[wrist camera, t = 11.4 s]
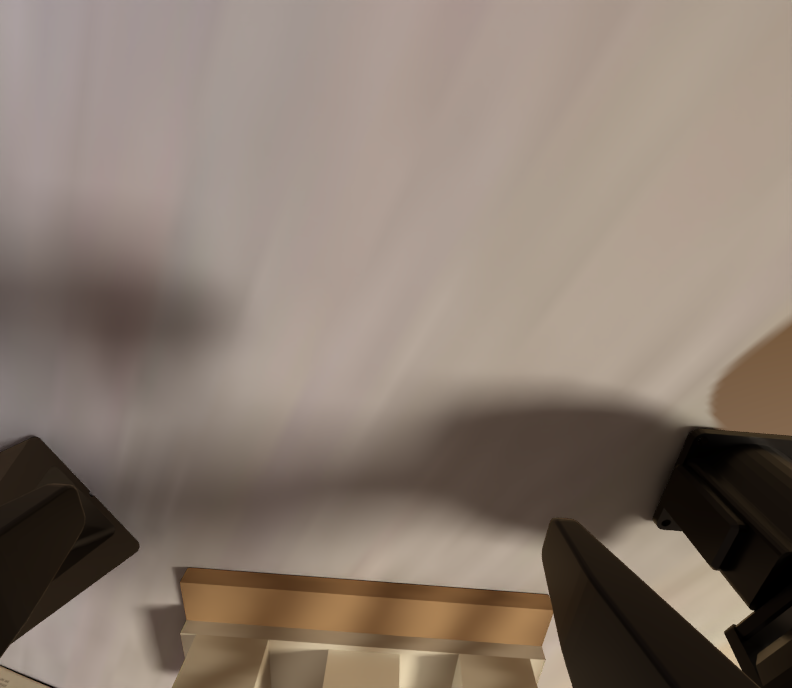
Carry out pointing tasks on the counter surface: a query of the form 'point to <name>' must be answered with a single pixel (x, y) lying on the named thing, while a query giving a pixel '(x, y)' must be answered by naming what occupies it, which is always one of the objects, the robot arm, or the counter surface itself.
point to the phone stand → (95, 546)
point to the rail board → (355, 631)
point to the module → (361, 670)
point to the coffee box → (17, 680)
